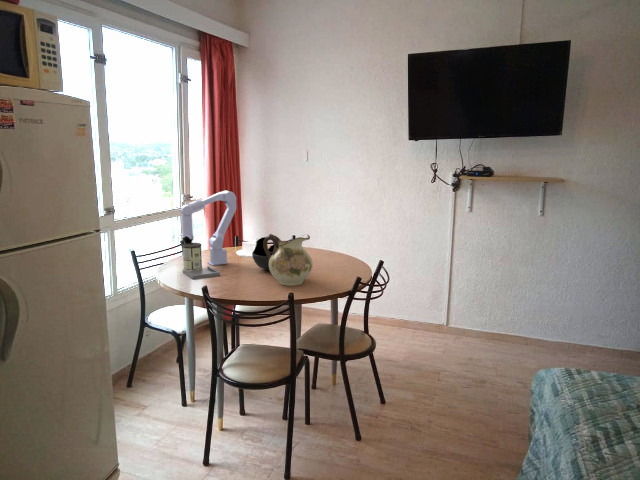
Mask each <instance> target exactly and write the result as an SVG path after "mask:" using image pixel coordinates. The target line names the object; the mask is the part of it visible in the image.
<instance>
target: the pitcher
mask: <svg viewBox="0 0 640 480" xmlns="http://www.w3.org/2000/svg"><path fill="white" fill-rule="evenodd" d="M265 237H266V238H265V239H264V241H263V248H264V250H265V253H266V255H267V257H268V259H269V269H270V270H269V272H270V274H271V275H272V276H273V277H274V278H275V279H276V280H277V281H278V283H279V285H282V286H286V287H292V286H295V287H296V286H300V285H302V284H303V283H304V280H306V278H308V276H309V275H310V274H311V271H312V269H313V259H312V257H311V255H310V254H309V253H308V251H306V249H305V248H304V247H303V246H302V245H303V243H304V242H305V241H308V240H310V238H311V236H310V235H309V234H308V233H307V234H303V235H301V236H300V237H296V238H293V239H290V240H288V241H287V240H281V238H279V237H278V236H276V235H275V234H272V233H269V234H268V235H267V236H265ZM269 241H272V243H273V244H274V250H273V254H272V256H271V255H270V252H269V250H268V249H269V246H268V243H269ZM278 245H279V246H278Z"/></svg>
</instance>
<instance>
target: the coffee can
mask: <svg viewBox="0 0 640 480" xmlns="http://www.w3.org/2000/svg"><path fill="white" fill-rule="evenodd" d="M182 260H183V263H182V265H183V269H185V270H186V271H195V270H202V269H203V263H202V262H203V261H202V243H200V242H192V243H186V244H184V243H183V244H182Z"/></svg>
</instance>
